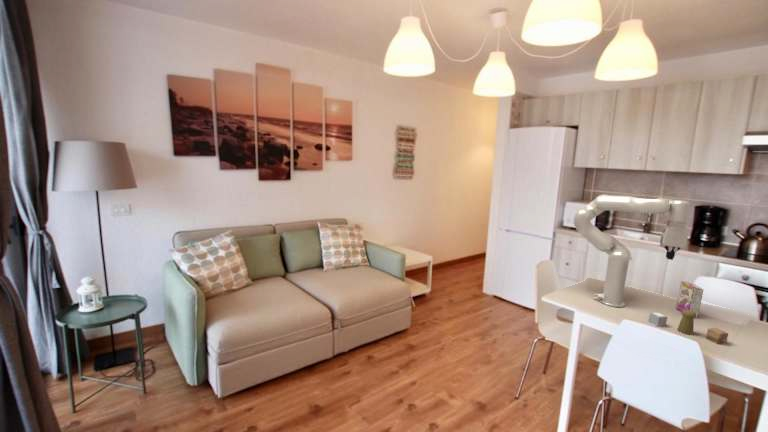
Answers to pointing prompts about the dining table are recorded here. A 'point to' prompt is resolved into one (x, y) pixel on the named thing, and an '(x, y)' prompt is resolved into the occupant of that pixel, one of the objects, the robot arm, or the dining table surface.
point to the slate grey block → (657, 319)
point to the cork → (687, 322)
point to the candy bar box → (689, 297)
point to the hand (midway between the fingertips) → (669, 258)
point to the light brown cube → (717, 336)
